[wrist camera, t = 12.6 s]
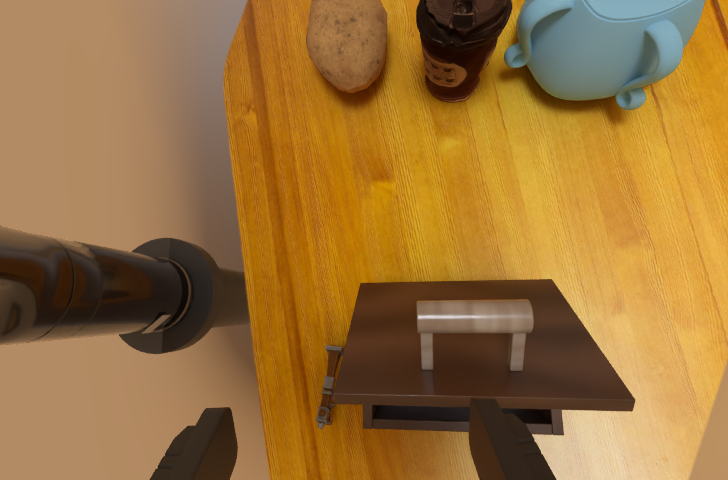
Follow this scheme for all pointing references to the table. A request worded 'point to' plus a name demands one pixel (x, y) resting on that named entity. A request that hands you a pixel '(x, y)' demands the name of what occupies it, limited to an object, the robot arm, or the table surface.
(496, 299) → the lid
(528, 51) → the decorative pot
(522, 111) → the table surface
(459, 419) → the wooden storage box
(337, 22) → the potato
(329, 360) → the wooden post with brackets
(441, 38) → the coffee cup
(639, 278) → the table surface
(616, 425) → the table surface
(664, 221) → the table surface
